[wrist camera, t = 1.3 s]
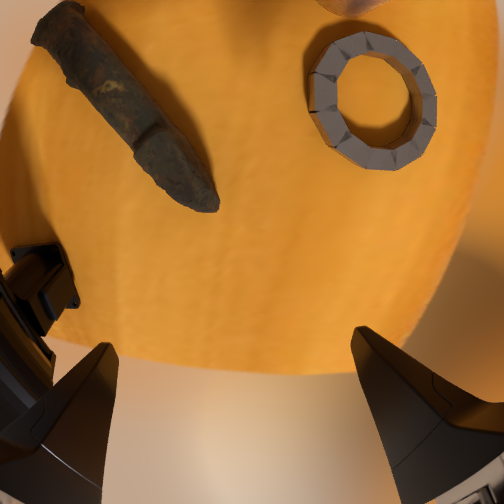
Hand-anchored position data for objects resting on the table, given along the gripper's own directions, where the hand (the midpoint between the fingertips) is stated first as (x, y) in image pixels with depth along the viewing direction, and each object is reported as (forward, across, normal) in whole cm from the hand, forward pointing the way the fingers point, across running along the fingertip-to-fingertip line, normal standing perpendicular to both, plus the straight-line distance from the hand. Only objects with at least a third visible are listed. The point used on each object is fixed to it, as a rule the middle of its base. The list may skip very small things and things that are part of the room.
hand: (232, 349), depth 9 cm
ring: (+12, -11, -9) cm, 18 cm away
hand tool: (+12, +6, -10) cm, 17 cm away
